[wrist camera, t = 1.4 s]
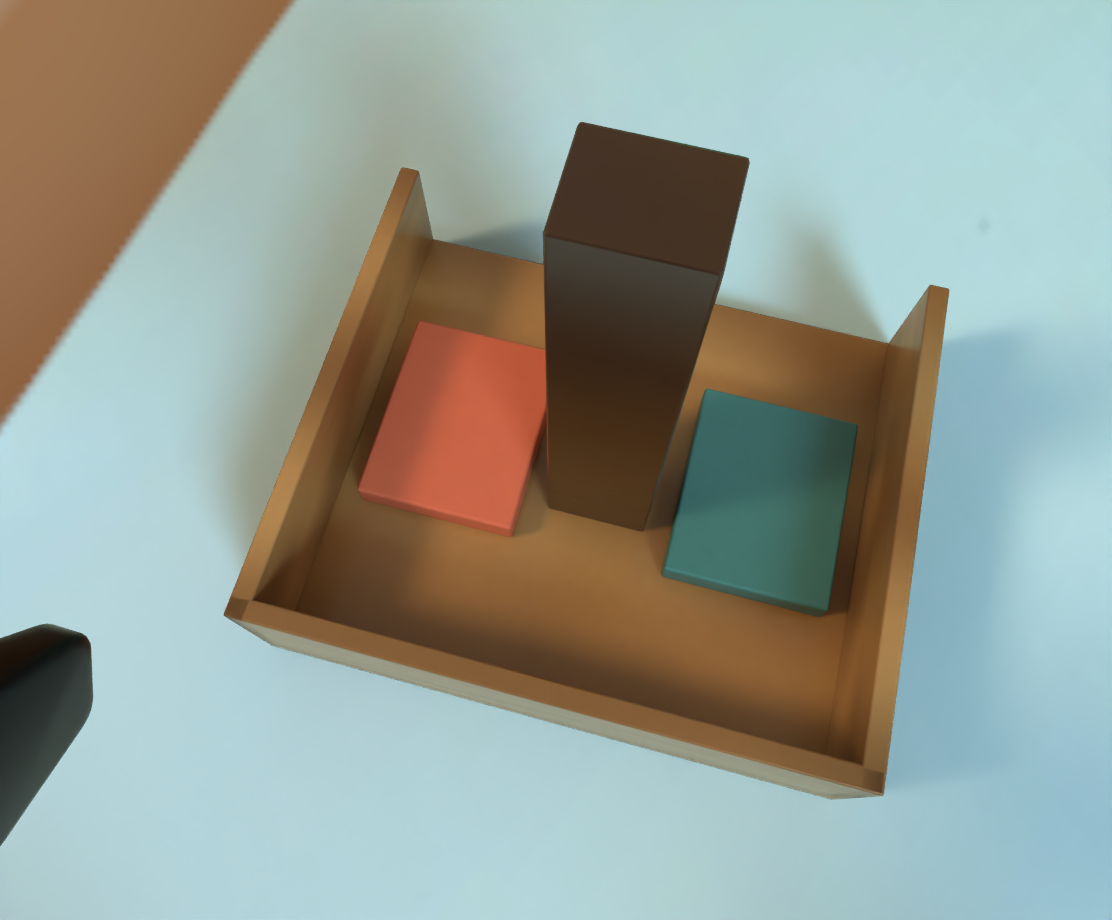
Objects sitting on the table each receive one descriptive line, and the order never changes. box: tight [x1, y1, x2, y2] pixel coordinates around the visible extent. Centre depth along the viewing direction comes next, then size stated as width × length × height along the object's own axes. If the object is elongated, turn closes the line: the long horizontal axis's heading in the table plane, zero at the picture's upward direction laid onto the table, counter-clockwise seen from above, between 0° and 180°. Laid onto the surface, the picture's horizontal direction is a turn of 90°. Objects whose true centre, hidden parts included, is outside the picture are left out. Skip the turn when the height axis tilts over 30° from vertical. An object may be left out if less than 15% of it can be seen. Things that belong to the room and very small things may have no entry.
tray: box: [224, 122, 949, 799], centre depth 19 cm, size 12×14×12 cm
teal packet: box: [661, 389, 858, 617], centre depth 23 cm, size 5×4×1 cm
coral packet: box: [357, 320, 547, 537], centre depth 24 cm, size 5×4×1 cm
